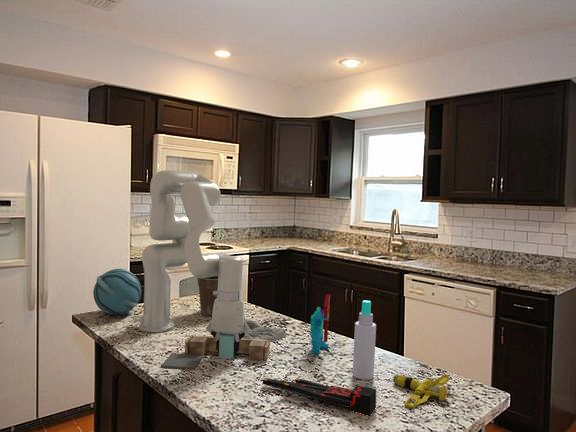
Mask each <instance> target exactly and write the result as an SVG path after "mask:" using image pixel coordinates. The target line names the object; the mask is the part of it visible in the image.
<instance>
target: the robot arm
mask: <svg viewBox="0 0 576 432" xmlns="http://www.w3.org/2000/svg"><path fill="white" fill-rule="evenodd" d="M149 188H150V189H149V190H150V198H151V203H150V205H151V206H150V215H149V216H150V217H149V225H148V226H149V227H148V228H149V229H148V233H149V237H150V238H151V239H152V240H155V241H159V242H160V241H172V242H161V243H153V244H150V245H146V247H145V248H143V250H142V254H141V260H142V266H143V276H144V277H143V278H144V280H143V281H144V282H143V283H144V285H143V287H144V289H143V314H142V315H137V314H135V315H133V316H132V318H133V319H132V320H133V322H134V323H137V322H139V324H138V329H139V330H140V331H141V332H145V333H162V332H163V333H164V332H168V331H170V330H173V328H174V327H175V326H174V325H175V324H174V322H173V321H171V319H170V318H171V285H172V282H171V277H170V276H169V274H168V272H167V271H166V269H167V270H168V269H171V268H172V269H174V268H180V267H183V266H185V265H186V264H187V265H188V269H189V271H190V274H191V275H193V276H194V277H195V278H207V277H213V276H218V290H217V291H213V295H215V296H217V299H215V301H214V306H213V313H212V316H211V321H210V323H209V324H208V325H207V326H206V328H205V330H206V331H207V332H209V334H210V335H211V337H214V338H215V340H216V349H218V352H217V354H219V340H220V334H221V333H234V335H235V342H234V354H235V355H237V354H238V353H237V351H239V344H240V340H241V339H242V338H243V337H244V336H245V335H247V334H249V333H250V332H251V329H250V328H249V326H248V325H247V323H246V322H245V320H246V311H245V301H244V299H243V298H242V291H243V289H242V285H243V264H244V263H243V259H242V258H241V257H240V256H236V255H235V256H234V255H229V254H227V253H224V252H214V253H213V252H212V253H203V252H202V250H201V246H200V245H201V244H200V238H201V235H202V233H204V232H206V231H208V230H209V229H211V228H212V227H213V226H214V225H215V222H216V221H215V217H214V214H213V211H212V208H211V207H214V206H217V205H218V204H219V203H220V201H221V199H222V198H221V190H220V188H219V186H218V185H217V184H216V183H215V182H213V181H212V180H210V179H209V178H206V177H205V176H203V175H201V174H200V173H198V172H193V171H182V170H181V171H180V170H170V169H167V170H159V171H157V172H156V173H154V174H153V175H152V177H151V180H150V185H149ZM173 195H180V198H181V201H182V204H183V209H184V211H185V215H182V214H176V203H175V199H174V197H173ZM243 329H245V331H244V332H242V331H243ZM241 332H242V333H241ZM240 333H241V334H240Z"/></svg>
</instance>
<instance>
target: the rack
mask: <svg viewBox="0 0 576 432" xmlns="http://www.w3.org/2000/svg"><path fill="white" fill-rule="evenodd" d="M270 345H271V342H270V340H257V339H241V340H240V344H239V351H237V353H236V354H248V360H251V361H252V360H253V361H264V362H268V359H269V356H270ZM207 352H217V353H218V349H216V340H215V338H214V337H213V336H212V335H211V336H209V335H195V334H191V335H190V336H189V337H188V338H187V339H186V340H185V341H184V354H191V355H203V357H204V356H205V355H206V354H207Z"/></svg>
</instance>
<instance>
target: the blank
mask: <svg viewBox="0 0 576 432" xmlns="http://www.w3.org/2000/svg"><path fill="white" fill-rule="evenodd" d="M234 342H235V335H234V333H221V334H220V340H219V353H218V358H219V359H221V358H222V359H234V357H235V356H236V354H234Z"/></svg>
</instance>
